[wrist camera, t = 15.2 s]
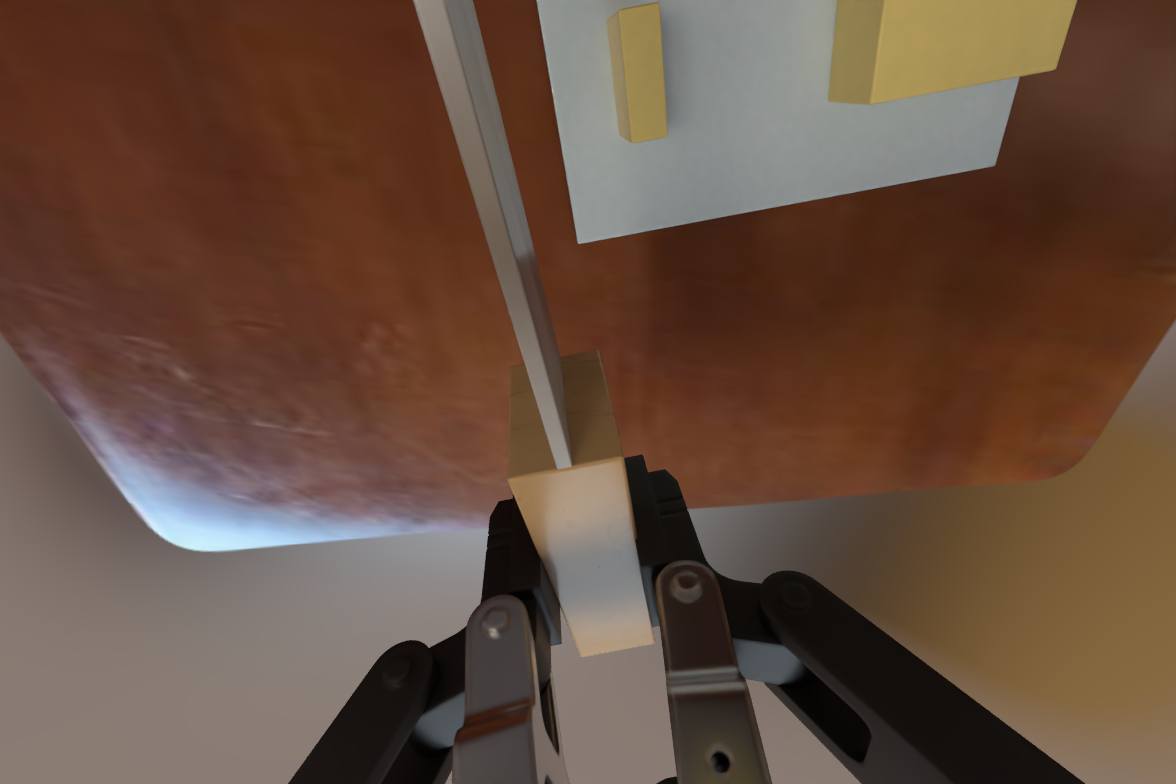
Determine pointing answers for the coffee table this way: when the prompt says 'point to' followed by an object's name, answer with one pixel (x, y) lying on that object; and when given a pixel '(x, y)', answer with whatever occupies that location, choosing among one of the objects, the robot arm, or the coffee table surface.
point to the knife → (544, 375)
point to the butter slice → (638, 72)
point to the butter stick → (940, 45)
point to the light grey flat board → (743, 117)
